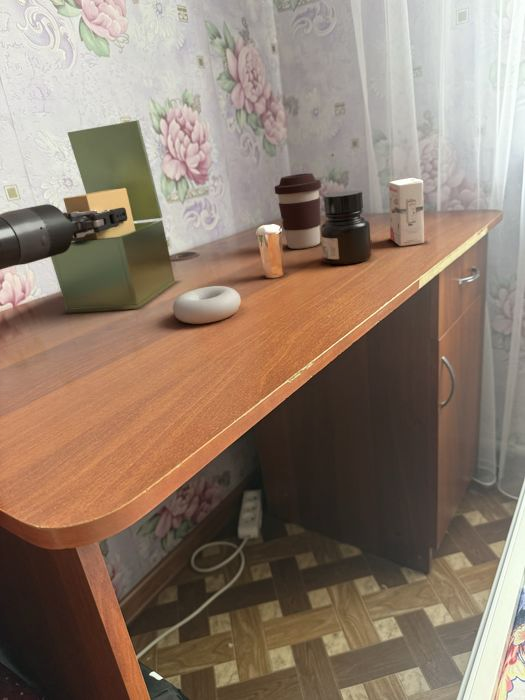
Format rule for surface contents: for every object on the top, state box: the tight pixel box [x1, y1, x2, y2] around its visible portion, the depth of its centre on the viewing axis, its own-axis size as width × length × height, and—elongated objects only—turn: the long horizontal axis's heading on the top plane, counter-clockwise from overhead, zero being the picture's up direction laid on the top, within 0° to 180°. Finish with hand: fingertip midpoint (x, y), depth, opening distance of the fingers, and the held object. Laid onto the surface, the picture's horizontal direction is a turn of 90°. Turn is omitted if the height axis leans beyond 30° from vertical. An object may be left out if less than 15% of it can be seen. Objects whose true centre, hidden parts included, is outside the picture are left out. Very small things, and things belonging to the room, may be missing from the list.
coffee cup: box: [274, 172, 322, 250], centre depth 109 cm, size 10×10×15 cm
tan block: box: [62, 188, 135, 241], centre depth 85 cm, size 9×5×10 cm, turn 151°
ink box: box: [388, 177, 425, 247], centre depth 99 cm, size 9×5×12 cm, turn 0°
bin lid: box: [67, 119, 163, 222], centre depth 89 cm, size 16×14×1 cm
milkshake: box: [255, 218, 284, 279], centre depth 88 cm, size 4×5×10 cm
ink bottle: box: [320, 190, 372, 266], centre depth 91 cm, size 10×9×12 cm
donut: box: [172, 285, 242, 325], centre depth 73 cm, size 10×4×10 cm
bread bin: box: [50, 219, 176, 314], centre depth 88 cm, size 16×14×12 cm
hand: (112, 214), depth 86 cm, fingers closed on tan block, 5 cm apart
